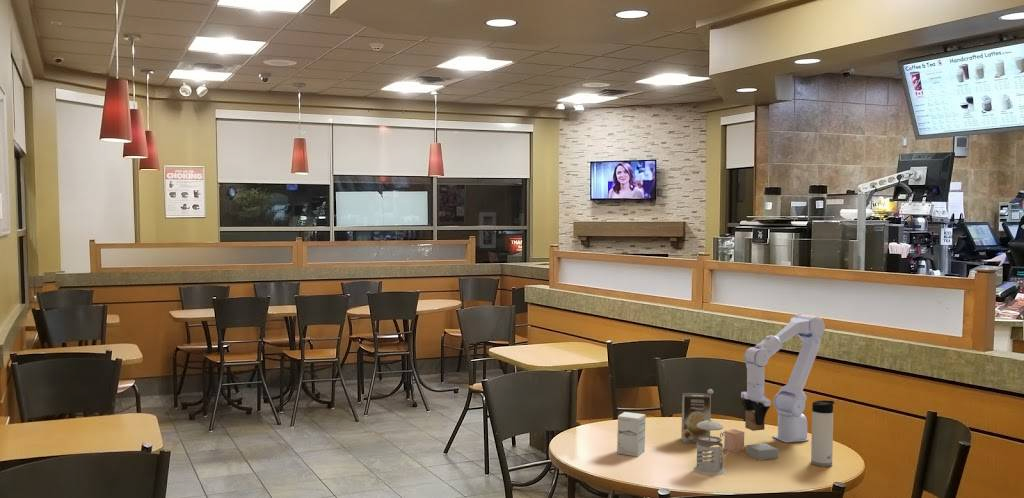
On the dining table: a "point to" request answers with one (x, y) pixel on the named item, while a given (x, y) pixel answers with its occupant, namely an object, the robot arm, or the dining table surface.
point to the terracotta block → (734, 440)
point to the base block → (762, 451)
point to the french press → (710, 448)
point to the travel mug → (822, 433)
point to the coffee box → (694, 416)
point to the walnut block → (752, 421)
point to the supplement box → (631, 434)
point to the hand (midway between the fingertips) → (755, 422)
